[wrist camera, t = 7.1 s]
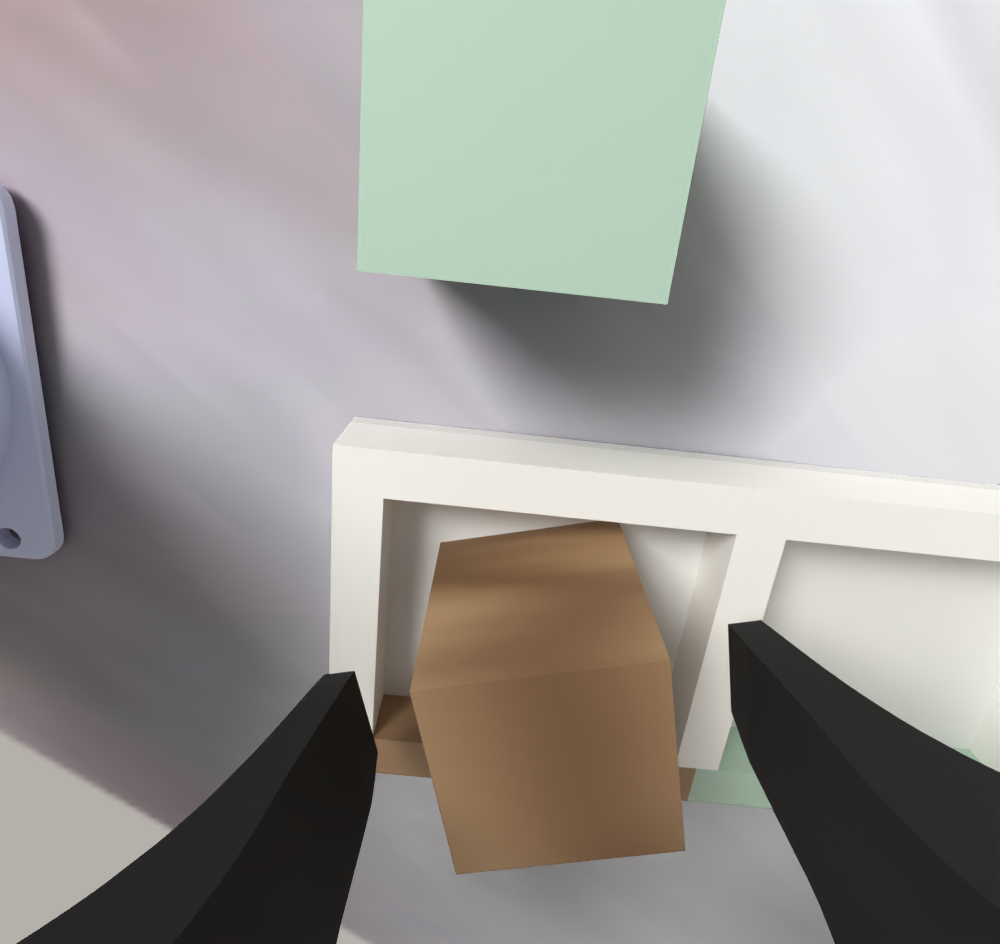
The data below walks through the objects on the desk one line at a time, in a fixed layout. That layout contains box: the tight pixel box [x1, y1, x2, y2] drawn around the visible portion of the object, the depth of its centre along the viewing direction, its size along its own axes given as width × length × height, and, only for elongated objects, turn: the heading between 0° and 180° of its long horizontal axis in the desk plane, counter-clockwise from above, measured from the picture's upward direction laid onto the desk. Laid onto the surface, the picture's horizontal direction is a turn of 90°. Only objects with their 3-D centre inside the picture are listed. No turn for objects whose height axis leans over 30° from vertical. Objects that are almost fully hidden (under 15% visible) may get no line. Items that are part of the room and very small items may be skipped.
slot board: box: [329, 417, 1000, 808], centre depth 15 cm, size 17×8×2 cm, turn 84°
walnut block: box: [410, 521, 685, 874], centre depth 13 cm, size 4×4×5 cm
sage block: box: [357, 0, 726, 305], centre depth 10 cm, size 4×4×5 cm
